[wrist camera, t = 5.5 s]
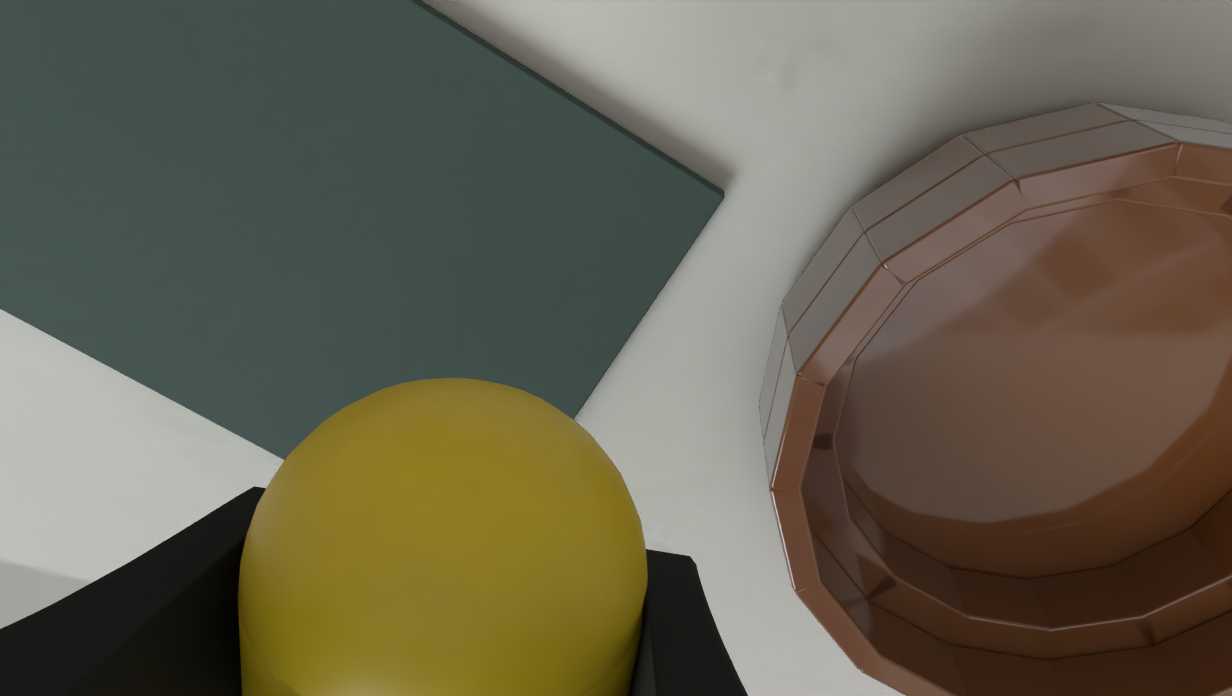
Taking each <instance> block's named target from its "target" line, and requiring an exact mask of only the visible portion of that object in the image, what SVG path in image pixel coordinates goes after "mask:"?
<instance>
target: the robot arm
mask: <svg viewBox="0 0 1232 696" xmlns="http://www.w3.org/2000/svg"><path fill="white" fill-rule="evenodd" d="M265 490H266V488H260V487H253V488H251V489H249V490H247V491H246V492H244V493H242V494H240V495H239V496H237V497H235V498H234V499H232V500H230V501H229V502H227V503H226V504H224V505H222V506H221V507H219V508H218V509H216V510H214V511H213V512H211V513H209V514H208V515H206V516H205V517H203V518H201V519H200V520H198V521H197V522H195V523H193V524H192V525H190V526H189V527H187V528H185V529H184V530H182V531H181V532H179V533H177V534H176V535H174V536H172V537H171V538H169V539H167V540H166V541H164V542H162V543H161V544H159V545H157V546H156V547H154V548H152V549H151V550H149V551H147V552H146V553H144V554H142V555H141V556H139V557H137V558H136V559H134V560H132V561H131V562H129V563H127V564H125V565H124V566H122V567H120V568H118V569H116V570H114V571H113V572H111V573H109V574H107V575H105V576H104V577H102V578H100V579H98V580H96V581H94V582H93V583H91V584H89V585H87V586H85V587H83V588H82V589H80V590H78V591H76V592H74V593H72V594H71V595H69V596H67V597H65V598H63V599H62V600H60V601H58V602H56V603H54V604H52V605H50V606H48V607H46V608H44V609H42V610H40V611H38V612H36V613H34V614H32V615H30V616H27V617H26V618H23V619H21V620H19V621H17V622H15V623H13V624H11V625H8V626H6V627H4V628H2V629H0V696H242V680H241V657H240V635H239V613H238V586H239V574H240V563H241V557H242V553H243V548H244V544H245V539H246V535H247V532H248V529H249V527H250V524H251V521H252V518H253V515H254V513H255V510H256V507H257V504H258V502H259V501H260V499H261V497H262V495H263V494H264V492H265ZM646 557H647V570H648V580H647V590H646V595H645V604H644V613H643V625H642V630H641V636H640V641H639V647H638V652H637V657H636V663H635V668H634V673H633V679H632V684H631V689H630V695H629V696H748V695H747V693H746V691H745V689H744V687H743V685H742V683H741V681H740V679H739V677H738V674H737V672H736V670H735V668H734V666H733V663H732V661H731V659H730V657H729V655H728V652H727V650H726V648H725V646H724V644H723V641H722V639H721V637H720V634H719V632H718V629H717V627H716V624H715V622H714V619H713V616H712V614H711V611H710V609H709V606H708V603H707V600H706V597H705V594H704V591H703V588H702V585H701V581H700V578H699V575H698V571H697V566H696V564H695V562H694V561H693V560H692V558H691V557H690V556H685V555H679V554H673V553H666V552H660V551H654V550H648V549H646Z"/></svg>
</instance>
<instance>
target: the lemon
mask: <svg viewBox="0 0 1232 696" xmlns="http://www.w3.org/2000/svg"><path fill="white" fill-rule="evenodd" d="M647 580H648V570H647V557H646V548H645V542H644V537H643V531H642V526H641V521H640V518H639V515H638V513H637V510H636V508H635V505H634V502H633V500H632V498H631V495H630V493H629V491H628V489H627V487H626V484H625V482H624V480H623V478H622V476H621V473H620V472H619V470H618V469H617V468H616V466H615V465H614V464H613V462H612V461H611V459H610V458H609V457H608V455H607V454H606V453H605V452H604V450H603V449H602V448H601V447H600V446H599V444H598V443H597V442H596V441H595V439H594V438H593V437H592V436H591V434H589V433H588V432H587V431H586V430H585V429H584V428H583V427H582V426H580V425H579V424H578V423H577V422H576V421H574V420H573V419H572V418H570V417H569V416H567V415H566V414H564V413H563V412H562V411H560V410H559V409H557V408H556V407H554V406H553V405H551V404H549V403H548V402H546V401H545V400H543V399H541V398H539V397H537V396H535V395H532V394H530V393H528V392H526V391H523V390H520V389H517V388H513V387H510V386H507V385H503V384H498V383H493V382H488V381H483V380H476V379H467V378H439V379H425V380H418V381H412V382H406V383H401V384H398V385H394V386H391V387H387V388H384V389H382V390H380V391H377V392H375V393H373V394H371V395H368V396H366V397H364V398H362V399H360V400H358V401H356V402H354V403H352V404H350V405H348V406H346V407H344V408H343V409H341V410H340V411H338V412H336V413H335V414H333V415H332V416H330V417H329V418H327V419H326V420H325V421H324V422H323V423H322V424H320V425H319V426H318V427H317V428H316V429H315V430H314V431H313V432H312V433H310V434H309V435H308V436H307V437H306V438H305V439H304V440H303V441H302V442H301V443H300V444H299V445H298V446H297V447H296V448H295V449H294V450H293V451H292V452H291V453H290V454H289V455H288V456H287V458H286V459H285V461H284V462H283V464H282V465H281V467H280V468H279V470H278V471H277V473H276V474H275V476H274V477H273V479H272V480H271V482H270V483H269V485H268V487H267V488H266V490H265V492H264V494H263V495H262V497H261V499H260V501H259V502H258V504H257V507H256V510H255V513H254V515H253V518H252V521H251V524H250V527H249V529H248V532H247V535H246V539H245V544H244V548H243V553H242V557H241V563H240V574H239V586H238V613H239V635H240V657H241V680H242V696H629V695H630V689H631V684H632V679H633V673H634V668H635V663H636V657H637V652H638V647H639V641H640V636H641V630H642V625H643V613H644V604H645V595H646V590H647Z"/></svg>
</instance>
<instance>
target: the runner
mask: <svg viewBox="0 0 1232 696" xmlns="http://www.w3.org/2000/svg"><path fill="white" fill-rule="evenodd" d="M723 199H724V192H723V191H722V190H721V189H719V188H718V187H716V186H714V185H713V184H711V183H710V182H708V181H706V180H705V179H703V178H702V177H700V176H699V175H697V174H695V173H694V172H692V171H691V170H689V169H687V168H686V167H684V166H683V165H681V164H679V163H678V162H676V161H675V160H673V159H671V158H670V157H668V156H667V155H665V154H664V153H662V152H660V151H659V150H657V149H656V148H654V147H652V146H651V145H649V144H648V143H646V142H644V141H643V140H641V139H640V138H638V137H636V136H635V135H633V134H632V133H630V132H629V131H627V130H625V129H624V128H622V127H621V126H619V125H617V124H616V123H614V122H613V121H611V120H609V119H608V118H606V117H605V116H603V115H601V114H600V113H598V112H597V111H595V110H593V109H592V108H590V107H589V106H587V105H586V104H584V103H582V102H581V101H579V100H578V99H576V98H574V97H573V96H571V95H570V94H568V93H566V92H565V91H563V90H562V89H560V88H558V87H557V86H555V85H554V84H552V83H551V82H549V81H547V80H546V79H544V78H543V77H541V76H539V75H538V74H536V73H535V72H533V71H531V70H530V69H528V68H527V67H525V66H523V65H522V64H520V63H519V62H517V61H516V60H514V59H512V58H511V57H509V56H508V55H506V54H504V53H503V52H501V51H500V50H498V49H496V48H495V47H493V46H492V45H490V44H488V43H487V42H485V41H484V40H482V39H481V38H479V37H477V36H476V35H474V34H473V33H471V32H469V31H468V30H466V29H465V28H463V27H461V26H460V25H458V24H457V23H455V22H453V21H452V20H450V19H449V18H447V17H445V16H444V15H442V14H441V13H439V12H438V11H436V10H434V9H433V8H431V7H430V6H428V5H426V4H425V3H423V2H422V1H420V0H0V309H2V310H4V311H5V312H7V313H9V314H11V315H13V316H15V317H17V318H19V319H20V320H22V321H24V322H26V323H28V324H30V325H32V326H34V327H36V328H37V329H39V330H41V331H43V332H45V333H47V334H49V335H51V336H52V337H54V338H56V339H58V340H60V341H62V342H64V343H66V344H67V345H69V346H71V347H73V348H75V349H77V350H79V351H81V352H83V353H84V354H86V355H88V356H90V357H92V358H94V359H96V360H98V361H99V362H101V363H103V364H105V365H107V366H109V367H111V368H113V369H114V370H116V371H118V372H120V373H122V374H124V375H126V376H128V377H129V378H131V379H133V380H135V381H137V382H139V383H141V384H143V385H145V386H146V387H148V388H150V389H152V390H154V391H156V392H158V393H160V394H161V395H163V396H165V397H167V398H169V399H171V400H173V401H175V402H176V403H178V404H180V405H182V406H184V407H186V408H188V409H190V410H192V411H193V412H195V413H197V414H199V415H201V416H203V417H205V418H207V419H208V420H210V421H212V422H214V423H216V424H218V425H220V426H222V427H223V428H225V429H227V430H229V431H231V432H233V433H235V434H237V435H239V436H240V437H242V438H244V439H246V440H248V441H250V442H252V443H254V444H255V445H257V446H259V447H261V448H263V449H265V450H267V451H269V452H270V453H272V454H274V455H276V456H278V457H280V458H282V459H284V460H285V459H286V458H287V456H288V455H289V454H290V453H291V452H292V451H293V450H294V449H295V448H296V447H297V446H298V445H299V444H300V443H301V442H302V441H303V440H304V439H305V438H306V437H307V436H308V435H309V434H310V433H312V432H313V431H314V430H315V429H316V428H317V427H318V426H319V425H320V424H322V423H323V422H324V421H325V420H326V419H327V418H329V417H330V416H332V415H333V414H335V413H336V412H338V411H340V410H341V409H343V408H344V407H346V406H348V405H350V404H352V403H354V402H356V401H358V400H360V399H362V398H364V397H366V396H368V395H371V394H373V393H375V392H377V391H380V390H382V389H384V388H387V387H391V386H394V385H398V384H401V383H406V382H412V381H418V380H425V379H439V378H467V379H476V380H483V381H488V382H493V383H498V384H503V385H507V386H510V387H513V388H517V389H520V390H523V391H526V392H528V393H530V394H532V395H535V396H537V397H539V398H541V399H543V400H545V401H546V402H548V403H549V404H551V405H553V406H554V407H556V408H557V409H559V410H560V411H562V412H563V413H564V414H566V415H567V416H569V417H570V418H572V419H574V418H575V416H576V415H577V413H578V412H579V410H580V409H581V408H582V406H583V405H584V403H585V402H586V400H587V399H588V397H589V396H590V394H591V393H592V391H593V390H594V388H595V387H596V385H597V384H598V383H599V381H600V380H601V378H602V377H603V375H604V374H605V372H606V371H607V369H608V368H609V366H610V365H611V363H612V362H613V360H614V359H615V358H616V356H617V355H618V353H619V352H620V350H621V349H622V347H623V346H624V344H625V343H626V341H627V340H628V338H629V337H630V335H631V334H632V333H633V331H634V330H635V328H636V327H637V325H638V324H639V322H640V321H641V319H642V318H643V316H644V315H645V313H646V312H647V310H648V309H649V308H650V306H651V305H652V303H653V302H654V300H655V299H656V297H657V296H658V294H659V293H660V291H661V290H662V288H663V287H664V285H665V284H666V283H667V281H668V280H669V278H670V277H671V275H672V274H673V272H674V271H675V269H676V268H677V266H678V265H679V263H680V262H681V260H682V259H683V258H684V256H685V255H686V253H687V252H688V250H689V249H690V247H691V246H692V244H693V243H694V241H695V240H696V238H697V237H698V235H699V234H700V232H701V231H702V230H703V228H704V227H705V225H706V224H707V222H708V221H709V219H710V218H711V216H712V215H713V213H714V212H715V210H716V209H717V207H718V206H719V205H720V203H721V202H722V200H723Z"/></svg>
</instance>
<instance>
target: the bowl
mask: <svg viewBox="0 0 1232 696" xmlns="http://www.w3.org/2000/svg"><path fill="white" fill-rule="evenodd" d="M759 411H760V419H761V427H762V435H763V443H764V451H765V459H766V467H767V475H768V483H769V491H770V495H771V500H772V504H773V508H774V513H775V517H776V521H777V525H778V530H779V534H780V538H781V542H782V547H783V551H784V555H785V559H786V564H787V568H788V572H789V577H790V581H791V585H792V588H793V589H794V591H795V593H796V595H797V596H798V597H799V598H800V600H801V601H802V602H803V603H804V604H805V606H806V607H807V608H808V609H809V610H810V612H811V613H812V614H813V615H814V617H815V618H816V619H817V620H818V621H819V623H820V624H821V625H822V626H823V627H824V629H825V630H826V631H827V632H828V633H829V635H830V636H831V637H832V638H833V640H834V641H835V642H836V643H837V644H838V646H839V647H840V648H841V649H842V650H843V652H844V653H845V654H846V655H847V657H848V658H849V659H850V660H851V661H852V663H853V664H854V665H855V666H856V667H857V669H860V670H861V672H862V673H864V674H866V675H868V676H870V677H872V678H874V679H876V680H878V681H879V682H881V683H883V684H885V685H887V686H889V687H891V688H893V689H895V690H896V691H898V692H900V693H902V694H904V695H906V696H1232V125H1231V124H1228V123H1226V122H1223V121H1219V120H1213V119H1206V118H1199V117H1192V116H1186V115H1179V114H1172V113H1165V112H1159V111H1152V110H1145V109H1139V108H1132V107H1125V106H1118V105H1112V104H1105V103H1095V104H1092V103H1089V104H1085V105H1081V106H1076V107H1072V108H1068V109H1064V110H1060V111H1055V112H1051V113H1047V114H1043V115H1038V116H1034V117H1030V118H1026V119H1021V120H1017V121H1013V122H1009V123H1005V124H1000V125H996V126H992V127H988V128H983V129H979V130H975V131H971V132H966V133H964V134H963V135H962V136H961V135H959V136H956V137H955V138H953V139H952V140H950V141H949V142H947V143H946V144H944V145H943V146H941V147H940V148H938V149H937V150H935V151H934V152H932V153H931V154H929V155H928V156H926V157H925V158H923V159H922V160H920V161H919V162H917V163H916V164H914V165H913V166H911V167H910V168H908V169H907V170H905V171H903V172H902V173H900V174H899V175H897V176H896V177H894V178H893V179H891V180H890V181H888V182H887V183H885V184H884V185H882V186H881V187H879V188H878V189H876V190H875V191H873V192H872V193H870V194H869V195H867V196H866V197H864V198H863V199H861V200H860V201H858V202H857V203H855V204H854V205H853V206H852V208H849V209H848V210H847V212H846V213H845V215H844V216H843V217H842V219H841V220H840V222H839V223H838V224H837V226H836V227H835V228H834V230H833V231H832V233H831V234H830V235H829V237H828V238H827V240H826V241H825V242H824V244H823V245H822V247H821V248H820V249H819V251H818V252H817V254H816V255H815V256H814V258H813V259H812V260H811V262H810V263H809V265H808V266H807V267H806V269H805V270H804V272H803V273H802V274H801V276H800V277H799V279H798V280H797V281H796V283H795V284H794V286H793V287H792V288H791V290H790V291H789V292H788V294H787V295H786V297H785V298H784V299H783V301H782V304H781V306H780V310H779V314H778V319H777V323H776V328H775V332H774V337H773V341H772V346H771V350H770V355H769V359H768V364H767V368H766V373H765V377H764V382H763V386H762V391H761V395H760V399H759Z"/></svg>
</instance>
